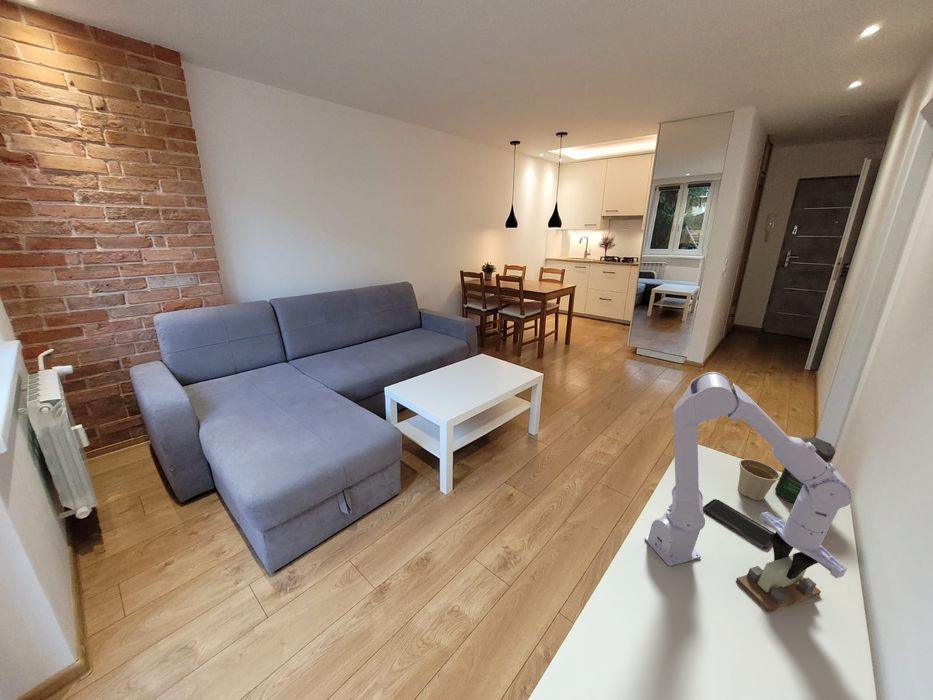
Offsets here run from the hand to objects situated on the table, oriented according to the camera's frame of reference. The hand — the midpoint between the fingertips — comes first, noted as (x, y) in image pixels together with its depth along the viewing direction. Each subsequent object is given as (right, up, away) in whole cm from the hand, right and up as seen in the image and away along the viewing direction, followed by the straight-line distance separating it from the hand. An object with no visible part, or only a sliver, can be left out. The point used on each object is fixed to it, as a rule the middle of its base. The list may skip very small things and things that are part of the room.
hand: (784, 571), depth 77 cm
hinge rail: (0, -5, +2) cm, 5 cm away
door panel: (0, -3, +1) cm, 3 cm away
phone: (+4, +1, +19) cm, 19 cm away
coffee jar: (+29, +4, +30) cm, 41 cm away
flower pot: (+16, +5, +30) cm, 34 cm away
